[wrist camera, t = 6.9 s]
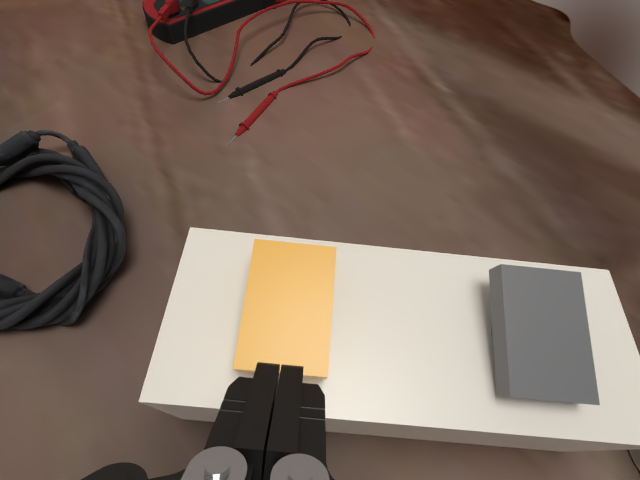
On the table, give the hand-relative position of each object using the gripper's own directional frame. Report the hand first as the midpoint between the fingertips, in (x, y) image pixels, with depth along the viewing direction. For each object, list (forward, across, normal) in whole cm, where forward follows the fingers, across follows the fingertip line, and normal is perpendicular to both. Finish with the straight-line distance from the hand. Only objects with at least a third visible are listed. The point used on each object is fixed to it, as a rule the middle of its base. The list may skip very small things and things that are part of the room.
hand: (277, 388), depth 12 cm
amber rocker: (+6, 0, 0) cm, 6 cm away
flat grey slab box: (+6, -12, 0) cm, 13 cm away
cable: (+17, +20, +2) cm, 27 cm away
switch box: (+12, -6, +6) cm, 15 cm away
